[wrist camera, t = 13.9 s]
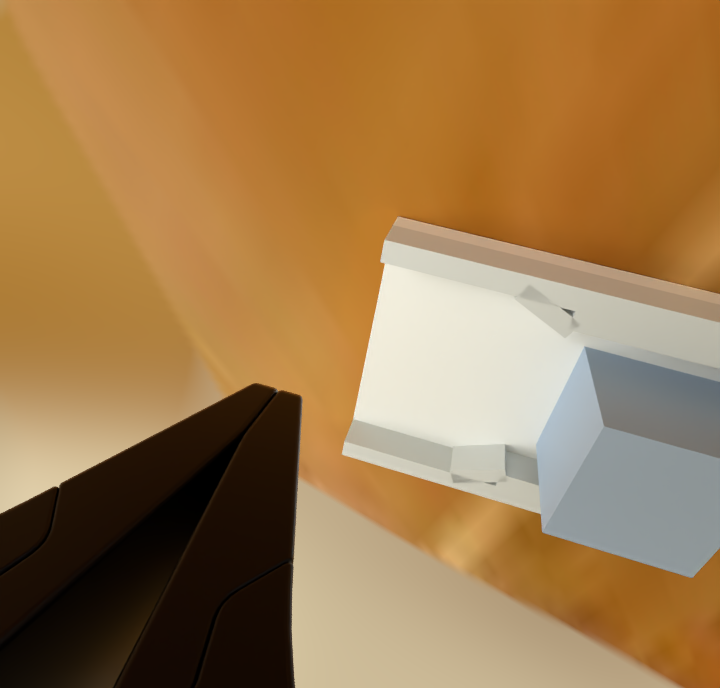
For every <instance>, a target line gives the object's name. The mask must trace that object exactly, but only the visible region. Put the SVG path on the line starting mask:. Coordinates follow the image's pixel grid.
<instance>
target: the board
mask: <svg viewBox="0 0 720 688" xmlns="http://www.w3.org/2000/svg"><path fill="white" fill-rule="evenodd" d="M380 262H382V263H385V267H384V272H383V277H382V282H381V286H380V291H379V296H378V301H377V306H376V311H375V316H374V321H373V325H372V330H371V335H370V340H369V345H368V350H367V355H366V360H365V364H364V369H363V374H362V379H361V384H360V389H359V394H358V399H357V403H356V408H355V413H354V418H353V421H352V424H351V426H350V429H349V431H348V434H347V436H346V439H345V442H344V447H343V452H342V455H345V456H348V457H352V458H355V459H358V460H362V461H365V462H368V463H372V464H375V465H379V466H382V467H385V468H389V469H392V470H395V471H399V472H402V473H405V474H409V475H412V476H415V477H419V478H422V479H425V480H429V481H432V482H435V483H439V484H442V485H445V486H449V487H452V488H455V489H459V490H462V491H465V492H469V493H472V494H476V495H479V496H482V497H486V498H489V499H492V500H496V501H499V502H502V503H506V504H509V505H512V506H516V507H519V508H522V509H526V510H529V511H532V512H536V513H539V514H541V507H540V493H539V479H538V465H537V451H536V443H537V441H538V439H539V437H540V435H541V433H542V431H543V429H544V427H545V425H546V423H547V421H548V419H549V417H550V415H551V413H552V411H553V409H554V407H555V405H556V403H557V401H558V399H559V397H560V395H561V393H562V391H563V389H564V387H565V385H566V383H567V381H568V379H569V377H570V375H571V373H572V371H573V369H574V367H575V365H576V363H577V360H578V358H579V356H580V354H581V352H582V350H583V348H584V346H585V347H589V348H592V349H596V350H600V351H604V352H608V353H611V354H615V355H619V356H623V357H627V358H630V359H634V360H638V361H642V362H646V363H650V364H653V365H657V366H661V367H665V368H669V369H672V370H676V371H680V372H684V373H688V374H691V375H695V376H699V377H703V378H707V379H710V380H714V381H718V382H720V294H718V293H713V292H709V291H705V290H701V289H697V288H693V287H689V286H684V285H680V284H676V283H672V282H668V281H664V280H660V279H655V278H651V277H647V276H643V275H639V274H635V273H631V272H626V271H622V270H618V269H614V268H610V267H606V266H602V265H597V264H593V263H589V262H585V261H581V260H577V259H573V258H568V257H564V256H560V255H556V254H552V253H548V252H544V251H539V250H535V249H531V248H527V247H523V246H519V245H515V244H510V243H506V242H502V241H498V240H494V239H490V238H485V237H481V236H477V235H473V234H469V233H465V232H461V231H456V230H452V229H448V228H444V227H440V226H436V225H432V224H427V223H423V222H419V221H415V220H411V219H407V218H403V217H397V219H396V221H395V223H394V224H393V226H392V228H391V230H390V231H389V233H388V235H387V237H386V238H385V241H384V246H383V251H382V256H381V261H380Z"/></svg>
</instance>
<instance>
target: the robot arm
mask: <svg viewBox="0 0 720 688" xmlns="http://www.w3.org/2000/svg"><path fill="white" fill-rule="evenodd" d="M301 417H302V397H301V396H300V395H297V394H294V393H290V392H287V391H283V390H281V391H277V389H275V388H273V387H269V386H266V385H262V384H259V383H254V384H251V385H249V386H247V387H245V388H244V389H242V390H240V391H238V392H236V393H234V394H232V395H230V396H228V397H226V398H224V399H222V400H220V401H218V402H217V403H215V404H213V405H211V406H209V407H207V408H205V409H203V410H201V411H199V412H197V413H195V414H193V415H191V416H190V417H188V418H186V419H184V420H182V421H180V422H178V423H176V424H174V425H172V426H170V427H169V428H167V429H164V430H163V431H161V432H159V433H157V434H155V435H153V436H151V437H149V438H147V439H145V440H143V441H141V442H140V443H138V444H136V445H134V446H132V447H130V448H128V449H126V450H124V451H122V452H120V453H118V454H116V455H114V456H112V457H111V458H109V459H107V460H105V461H103V462H101V463H99V464H97V465H96V466H93V467H91V468H89V469H87V470H85V471H84V472H82V473H80V474H78V475H76V476H74V477H72V478H70V479H68V480H66V481H64V482H62V483H61V484H60V486H59V488H58V487H52V488H51V489H48V490H47V491H45V492H43V493H41V494H39V495H37V496H35V497H33V498H31V499H29V500H28V501H25V502H23V503H21V504H19V505H17V506H15V507H13V508H11V509H9V510H7V511H5V512H3V513H1V514H0V688H295V682H294V667H293V649H292V630H291V628H292V627H291V626H292V583H293V559H294V542H295V525H296V506H297V489H298V488H297V487H298V471H299V453H300V435H301Z"/></svg>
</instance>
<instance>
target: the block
mask: <svg viewBox="0 0 720 688" xmlns="http://www.w3.org/2000/svg"><path fill="white" fill-rule="evenodd" d="M536 451H537V465H538V479H539V493H540V507H541V522H542V532H543V533H546V534H549V535H552V536H556V537H559V538H562V539H566V540H569V541H572V542H575V543H579V544H582V545H585V546H588V547H592V548H595V549H598V550H602V551H605V552H608V553H611V554H615V555H618V556H621V557H625V558H628V559H631V560H634V561H638V562H641V563H644V564H647V565H651V566H654V567H657V568H661V569H664V570H667V571H670V572H674V573H677V574H680V575H683V576H687V577H690V578H693V577H694V575H695V574H696V573H697V572H698V571H699V570H700V569H701V568H702V567H703V566H704V565H705V563H706V562H707V561H708V560H709V559H710V558H711V557H712V556H713V555H714V554H715V553H716V551H717V550H718V549H719V548H720V382H718V381H714V380H710V379H707V378H703V377H699V376H695V375H691V374H688V373H684V372H680V371H676V370H672V369H669V368H665V367H661V366H657V365H653V364H650V363H646V362H642V361H638V360H634V359H630V358H627V357H623V356H619V355H615V354H611V353H608V352H604V351H600V350H596V349H592V348H589V347H585V346H584V348H583V350H582V352H581V354H580V356H579V358H578V360H577V363H576V365H575V367H574V369H573V371H572V373H571V375H570V377H569V379H568V381H567V383H566V385H565V387H564V389H563V391H562V393H561V395H560V397H559V399H558V401H557V403H556V405H555V407H554V409H553V411H552V413H551V415H550V417H549V419H548V421H547V423H546V425H545V427H544V429H543V431H542V433H541V435H540V437H539V439H538V441H537V443H536Z"/></svg>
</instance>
